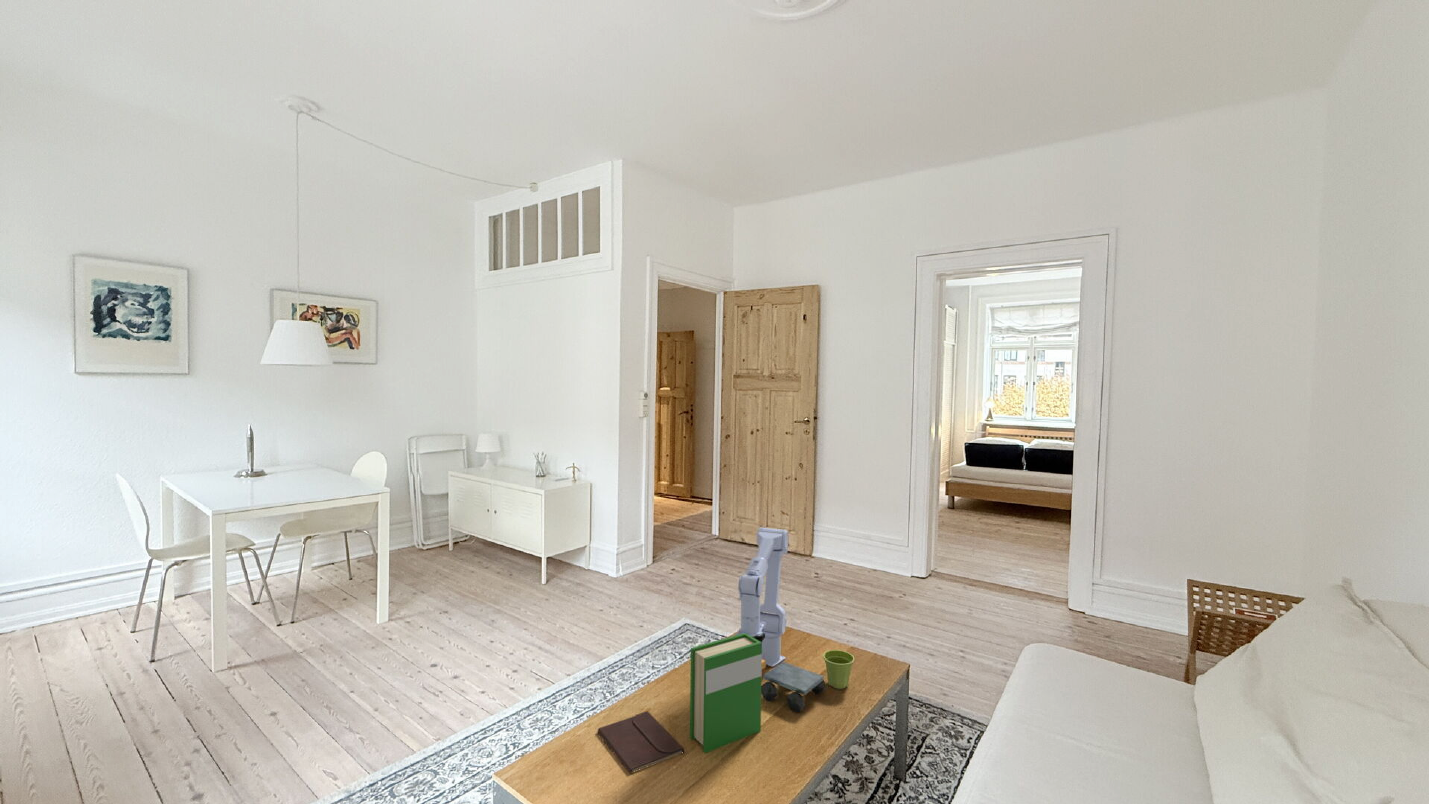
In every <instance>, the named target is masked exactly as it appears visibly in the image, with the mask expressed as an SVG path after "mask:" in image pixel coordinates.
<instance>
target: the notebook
mask: <svg viewBox="0 0 1429 804" xmlns="http://www.w3.org/2000/svg"><path fill="white" fill-rule="evenodd" d="M597 734H599V736H600V737H601V739H602V738H603V739H602V740H603V741H604V743H605V744H606V743H607V744H606V745H607V747H610V748H611V749H610V748H609V749H610V750H611V751H612V753H613V752H614V753H615V754H616V755H615V754H614V753H613V754H614V755H615V756H617V757H618V758H619V759H618V758H617V757H616V758H617V759H618V760H620V761H621V762H622V763H623V764H622V763H621V762H620V761H619V762H620V763H621V764H622V766H623V765H624V766H625V767H626V768H625V767H624V766H623V767H624V768H625V769H627V770H628V771H627V770H626V771H627V772H628V773H629V772H630V773H631V772H634V771H636V770H639V769H642V770H644V769H646V768H645V767H647V766H649V767H651V766H650V765H652V764H654V765H656V764H655V763H657V764H659V763H662V762H664V761H663V760H665V761H667V760H669V759H668V758H670V757H672V758H675V757H677V756H679V755H678V754H680V755H683V754H685V748H684V746H683V745H681V744H680V743H679V742H678V741H677V740H676V739H675V737H673V736H672V735H671V734H670V733H669V732H668V731H667V729H665V727H664V726H663V725H662V724H661V723H660V722H659V721H658V720H657V719H656V718H655V717H654V716H653V715H652V714H651V713H650V712H649V711H647V710H646V711H643V712H640V713H637V714H635V715H634V716H632V717H627V718H626V719H622V720H619V721H616V722H613V723H610V724H607V725H604V726H601V727H599V728H598V729H597ZM682 752H683V753H682ZM676 755H677V756H676ZM674 756H675V757H674ZM666 759H667V760H666ZM670 759H671V758H670ZM652 766H653V765H652ZM643 768H644V769H643ZM647 768H648V767H647ZM639 771H640V770H639ZM636 772H637V771H636ZM630 773H629V774H630ZM634 773H635V772H634ZM631 774H632V773H631Z"/></svg>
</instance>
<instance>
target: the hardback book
mask: <svg viewBox="0 0 1429 804" xmlns="http://www.w3.org/2000/svg"><path fill="white" fill-rule="evenodd" d="M762 670H763V669H762V642H760V641H758V640H757V639H755V638H753V637H752V636H750V635H748V634H747V633H743V634H739V635H736V634H735V635H732V636H729V637H725V638H721V639H719V640H715V641H710V642H707V643H703V644H700V645H697V646H693V647H690V680H689V681H690V683H689V684H690V685H689V687H690V689H689V691H690V692H689V693H690V694H689V695H690V696H689V697H690V699H689V706H690V707H689V739H690V741H693V740H696V741H697V742H699V743H700V744H701V745H702V746H703V747H702V748H703V749H702V752H703V753H704V754H707V753H710V752H712V751H714V750H717V749H720V748H722V747H724V746H726V745H730V744H731V743H732V744H733V743H734V742H737V741H739V740H742V739H744V738H747V737H750V736H751V735H754V734H757V733H759V732H761V730H762V729H761V725H762V694H761V686H762Z"/></svg>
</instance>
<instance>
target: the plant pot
mask: <svg viewBox="0 0 1429 804" xmlns="http://www.w3.org/2000/svg"><path fill="white" fill-rule="evenodd" d="M822 656H823V660H824V662H825V667H826V677H827V684H828V686H831V687H833V688H834V689H839V690H840V689H841V690H842V689H845V688H846V687H848V686H849V682H850V675H851V671H852V666H853V665H854V662H855V656H854V655H853V654H851V653H850V652H848V651H845V650H839V649H832V650H827V651H825V652H824V653H823V655H822Z"/></svg>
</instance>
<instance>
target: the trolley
mask: <svg viewBox="0 0 1429 804" xmlns="http://www.w3.org/2000/svg"><path fill="white" fill-rule="evenodd" d="M763 680H765V681H766V682H764V683H763V684H761V697H762V698H763V699H764V700H765V701H767V702H773V701H774V700H775V699H777V697H778V689H777V686H776V685H778V686H780V687H782V688H785V689H788V690H790V691H792V692H791V693H789V695H787V697H786V703H787V706H788V708H789V709H790V710H791V711H792V712H794V713H799V712H801V711H802V710H803V709H804V708H805V705H806V702H805V699H804V696H805V695H807V694H808V693H809V692H812V693H814V694H815V695H820V694H822V693H823V692H824V691H825V690H826V686H827V685H826V682H825V680H824V675H822V674H820V673H816V672H813V671H810V670H807V669H805V668H802V667H799V666H796V665H793V664H791V663H787V662H785V661H781V662H780V663H778V664H777V665H775V666H774V667H773V668H771V670H769V671H767V672H766V673H765V674H763ZM803 695H804V696H803Z"/></svg>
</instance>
